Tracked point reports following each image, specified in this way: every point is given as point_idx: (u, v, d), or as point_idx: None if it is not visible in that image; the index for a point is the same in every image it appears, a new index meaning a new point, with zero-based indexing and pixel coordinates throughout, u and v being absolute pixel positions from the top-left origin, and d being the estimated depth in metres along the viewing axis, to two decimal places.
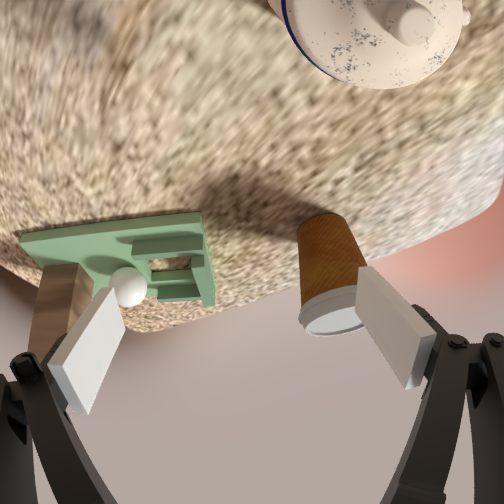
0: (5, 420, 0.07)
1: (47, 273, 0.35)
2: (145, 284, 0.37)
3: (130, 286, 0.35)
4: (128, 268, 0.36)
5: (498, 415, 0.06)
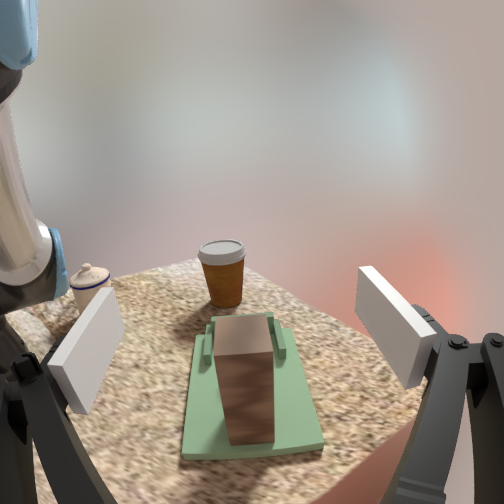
0: (5, 421, 0.07)
1: None
2: None
3: None
4: None
5: (498, 415, 0.06)
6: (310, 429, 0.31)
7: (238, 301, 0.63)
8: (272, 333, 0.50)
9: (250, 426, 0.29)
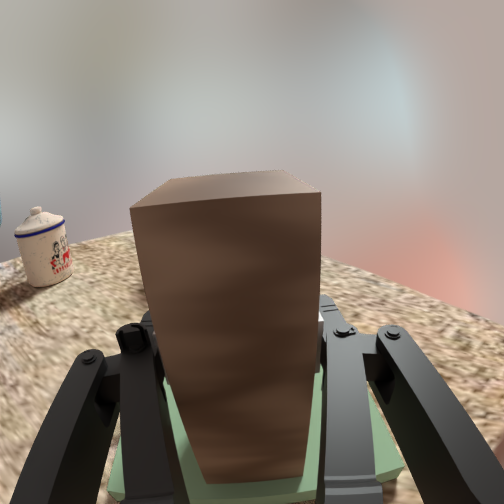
0: (91, 402, 0.08)
1: None
2: None
3: None
4: None
5: (417, 410, 0.07)
6: (373, 442, 0.14)
7: None
8: None
9: (248, 446, 0.11)
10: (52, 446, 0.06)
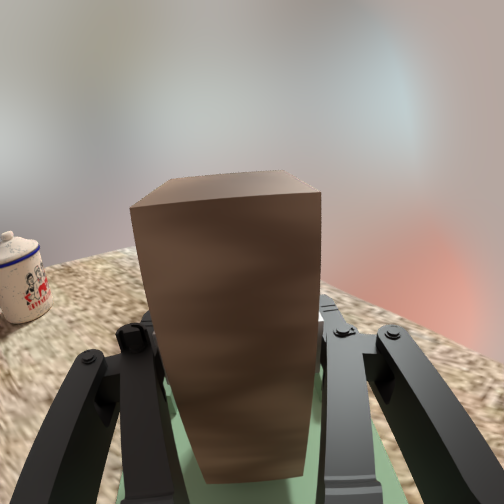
0: (91, 402, 0.08)
1: None
2: None
3: None
4: None
5: (417, 410, 0.07)
6: None
7: None
8: None
9: (248, 446, 0.11)
10: (51, 445, 0.06)
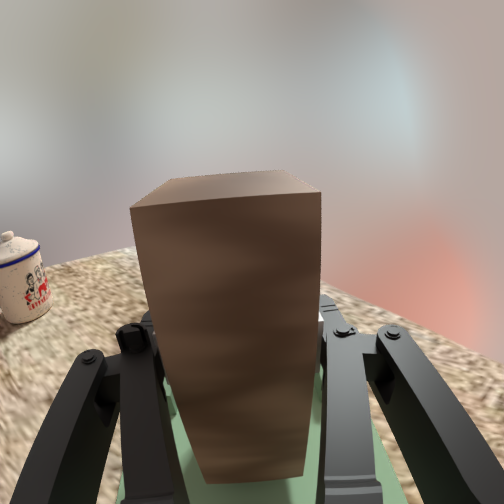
0: (91, 402, 0.08)
1: None
2: None
3: None
4: None
5: (417, 410, 0.07)
6: None
7: None
8: None
9: (248, 446, 0.11)
10: (51, 445, 0.06)
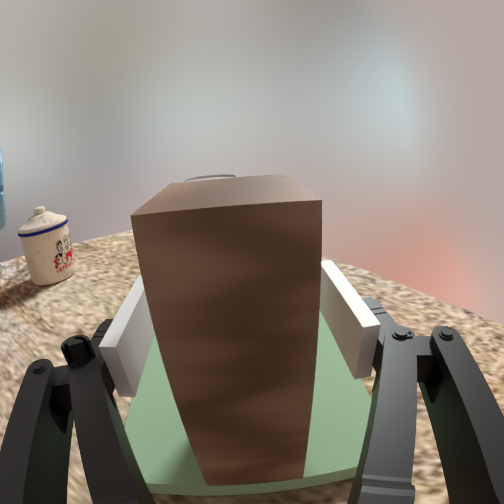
0: (46, 409, 0.08)
1: None
2: None
3: None
4: None
5: (459, 410, 0.07)
6: None
7: None
8: None
9: (249, 448, 0.11)
10: (16, 453, 0.05)
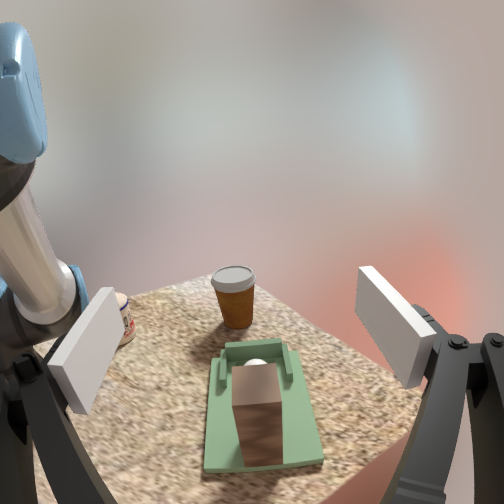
0: (5, 421, 0.07)
1: None
2: None
3: None
4: None
5: (498, 415, 0.06)
6: (312, 446, 0.36)
7: (249, 322, 0.67)
8: (280, 356, 0.55)
9: (262, 453, 0.32)
10: None
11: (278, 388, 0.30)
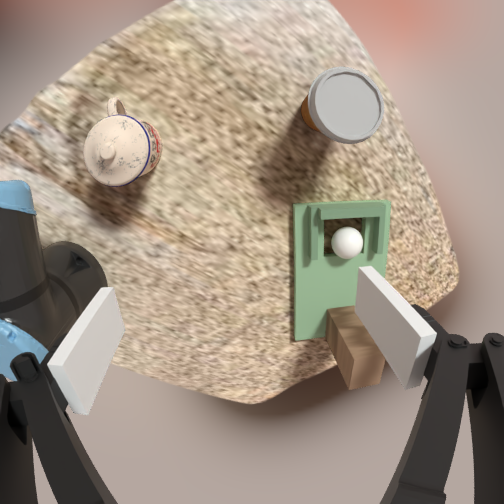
0: (5, 421, 0.07)
1: (327, 336, 0.52)
2: None
3: None
4: (335, 253, 0.47)
5: (498, 415, 0.06)
6: None
7: None
8: None
9: None
10: None
11: (380, 374, 0.40)
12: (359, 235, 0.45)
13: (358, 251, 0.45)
